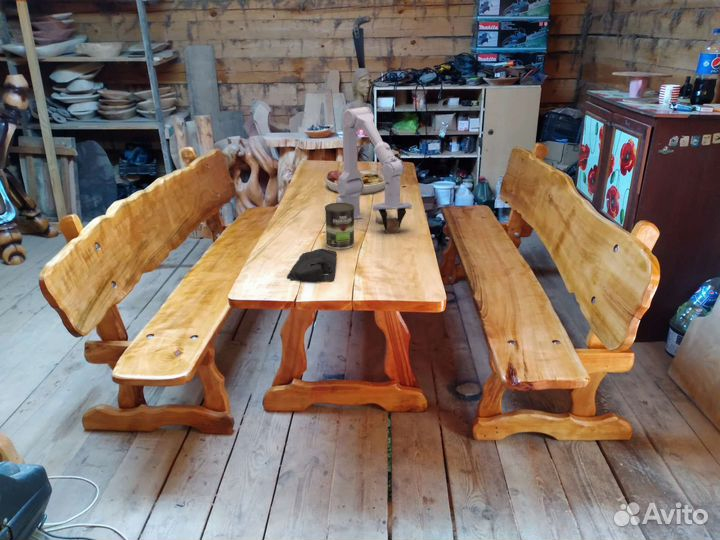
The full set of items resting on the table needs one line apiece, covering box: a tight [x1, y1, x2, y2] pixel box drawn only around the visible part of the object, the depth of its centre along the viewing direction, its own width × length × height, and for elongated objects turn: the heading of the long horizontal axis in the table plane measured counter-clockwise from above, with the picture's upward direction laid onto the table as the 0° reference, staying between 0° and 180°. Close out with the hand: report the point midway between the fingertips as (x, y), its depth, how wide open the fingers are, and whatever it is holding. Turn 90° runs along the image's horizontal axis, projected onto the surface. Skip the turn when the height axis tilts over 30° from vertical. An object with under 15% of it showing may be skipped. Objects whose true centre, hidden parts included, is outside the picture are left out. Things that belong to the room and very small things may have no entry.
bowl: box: [325, 169, 385, 195], centre depth 265 cm, size 30×30×8 cm
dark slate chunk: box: [286, 248, 338, 283], centre depth 179 cm, size 15×22×5 cm
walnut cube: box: [384, 217, 400, 235], centre depth 210 cm, size 4×4×4 cm
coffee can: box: [324, 202, 355, 250], centre depth 196 cm, size 10×10×14 cm
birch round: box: [375, 210, 397, 226], centre depth 220 cm, size 8×8×4 cm
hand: (391, 227), depth 210 cm, fingers closed on walnut cube, 4 cm apart
